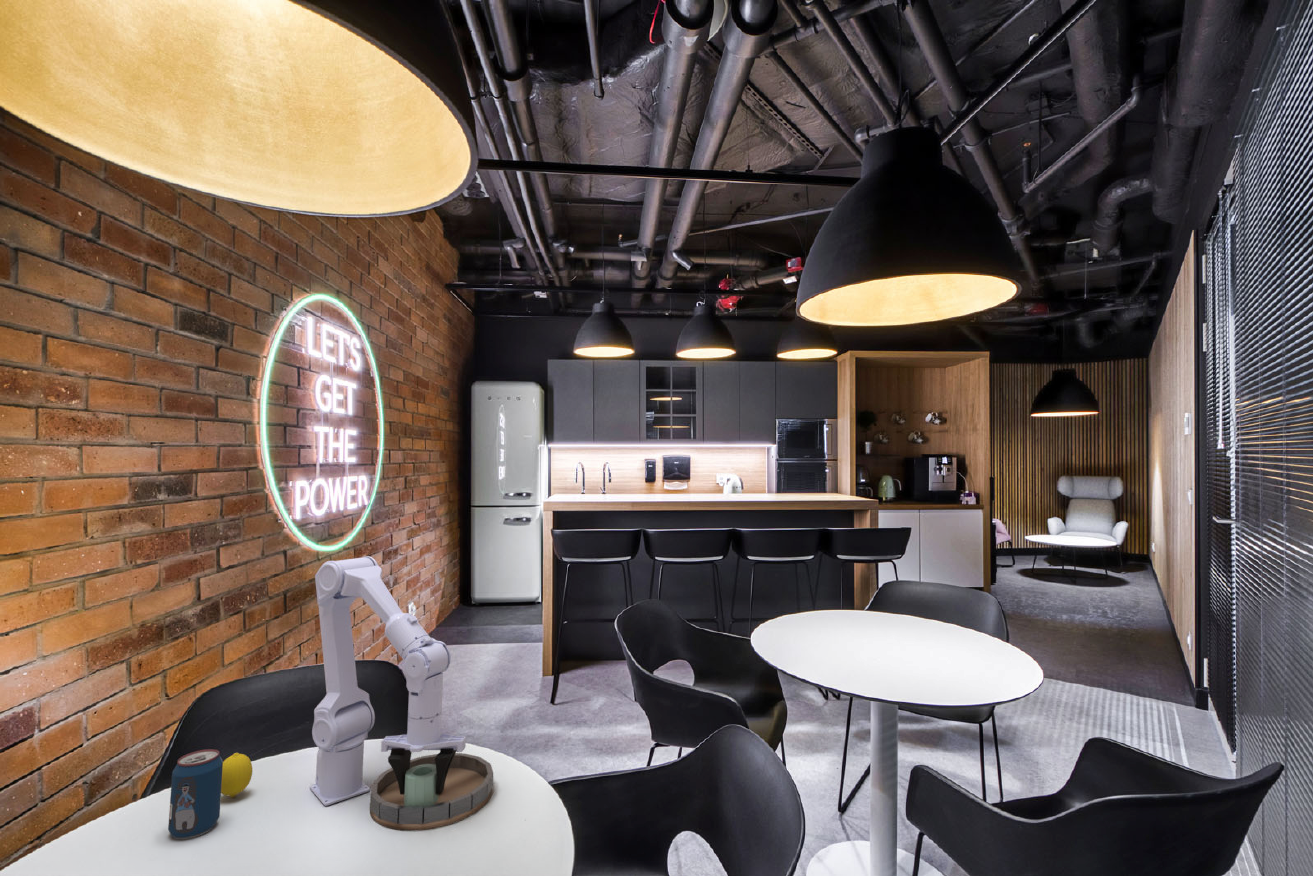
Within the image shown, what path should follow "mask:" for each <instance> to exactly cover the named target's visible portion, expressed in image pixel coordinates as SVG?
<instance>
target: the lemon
mask: <svg viewBox="0 0 1313 876" xmlns="http://www.w3.org/2000/svg"><path fill="white" fill-rule="evenodd" d="M252 775H253V765H252V761H251V759H250V758H249V756H247V755H246V754H243V753H239V752H235V753H233V754H232V755H230V756H229V757H227V758H225V759H224V761H223V768H222V785H221V795H223V796H228V797H230V798H232V799H233V798H235V797H237V796H238V794H240V793H242V792H243V791H244V790H245V789H246V788H247V787H248V785H249V784H250V782H251V779H252Z"/></svg>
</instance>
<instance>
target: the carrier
mask: <svg viewBox="0 0 1313 876" xmlns="http://www.w3.org/2000/svg"><path fill="white" fill-rule="evenodd" d="M437 755H438V753H434V754H430V755H429V754H428V755H423V756H418V757H415V758H412V759H410V768H412V767H415V766H418V765H422V764H433V765H436V763H435V757H436V756H437ZM410 768H409V769H410ZM493 788H494V770H493V766H492V763H490V762H488V761H487V760H485V759H484V758H482V757H480V756H477V755H473V754H469V753H462V752H456V753H455V755H454V758H453V760H452V762H451V765H450V767H449V770H448V773H447V776H446V780H445V785H444V790H443V791H442V793H441V794H440V795H439V797H438V801H437V802H435V803H434V804H431V805H426V806H405V805H404V795H400V790H399V785H398V781H397V778H396V775H395V773H394V770H393V769H392V767H390V768H388V769H386V770H385V771H383V772H381V773H380V775H378V777H377V778H376V779H375V780H374V781H373V782H372V783H371V787H370V799H369V801H370V802H369V814H370V817H371V819H372V820H373V821H374V822H375V823H376V824H378V825H379V826H382V827H384V828H388V829H392V830H397V831H407V832H408V831H409V832H413V831H414V832H415V831H425V830H432V829H438V828H442V827H446V826H449V825H452V824H454V823H457V822H460V821H463V820H465V819H467V818H469V817H471V816H472V815H474V814H476V813H477V812H479V811H480V810H482V809H483V808H484V807H485V806H486V805H487V804H488V802H489V801H490V799H491V798H492V795H493V791H492V790H493ZM483 806H484V807H483ZM470 815H471V816H470Z"/></svg>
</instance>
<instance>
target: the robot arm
mask: <svg viewBox="0 0 1313 876" xmlns="http://www.w3.org/2000/svg"><path fill="white" fill-rule="evenodd" d="M382 574H383V569H382V568H381V567H380V565H378V562H377V560H375V559H374V557H372V556H369V555H367V556H362V557H357V558H349V559H340V560H328V561H325V562H324V563H323V564H322V565H321V566H320V567H319V569H318V571H317V572H316V573H315V575H314V578H315V579H314V580H315V588H316V591H315V592H316V599H317V605H318V606H317V607H318V616H319V626H320V627H319V628H320V635H321V636H320V637H321V646H322V648H321V649H322V657H323V658H322V659H323V669H324V677H325V678H324V679H325V689H326V694H325V696H324V697H323V699H322V700H321V701H320V702H319V703H318V704H317V706H316V707H315V708H314V710H313V714H314V715H313V716H314V717H313V718H314V719H313V724H312V728H311V729H312V730H311V734H312V740H313V742H314V744H315V745H316V746H317V748H318V750H317V753H316V764H315V765H316V770H315V783H314V784H311V785H310V786H309V789H310V790H311V792H312V793H313V794H314V795H315V797H316V798H317V799H318V800H319V801H320V802H321V803H322V805H324V806H325V807H326V806H327V807H328V806H330V805H333V804H337V803H338V802H342V801H345V800H347V799H351V798H353V797H355V796H359V795H362V794H365V793H368V792H371V787H369V786H368V785H367V783H365V782H364V781H363V773H364V770H363V769H364V753H365V751H364V749H365V748H364V747H365V740H366V739H368V734H369V732H370V731H371V730H372V729H373V727H374V724H375V722H376V721H375V720H376V716H375V711H374V708H373V706H372V704H371V701H370V700H371V699H370V694H369V693H368V692H366V691H365V690H364V689H362V688H360V687H358V686H359V685H358V677H357V676H358V675H357V668H356V656H355V647H354V638H353V628H352V619H351V618H352V616H351V606H352V605H353V604H354V602H355V600H356V599H357V598H361V599H363V601H364V602H365V603H366V604H367V605H368V606H369V608H370V609H371V610H372V611H373V612H374V613H375V614H376V615H377V616H378V618H379V619H380V620H381V621H382V622H383V624H385V628H384V636H385V637H386V638H387V640H388V641H389V642H390V644H391V645H392V646H393V648H394V649H395V650H396V652H397V653H398V655H399V656H400V658H401V659H402V660H403V662H404V663H401V669H402V673H403V676H404V678H405V680H406V688H407V691H408V708H407V709H408V710H407V732H406V734H400V735H399V734H398V735H386V736H385V737H384V738H382V740H381V743H380V744H381V746H380V752H381V753H382V752H384V753H386V752H388V751H390V753H389V754H390V755H388V757H387V761H388V763H389V766H390V768H392V769H393V770H394V773H395V775H396V778H397V781H398V785H399V790H400V795H404V794H405V774H406V771H407V770H409V768H410V760H411V758H412V753H421V752H422V751H439V752H438V753H437V754H438V755H437V756H436V757H435V763H436V773H437V780H436V795H440V794H441V793H442V791H443V790H444V785H445V780H446V776H447V773H448V770H449V767H450V765H451V762H452V760H453V758H454V755H455V753H462V752H463V751H464V750H465V749H466V746H467V744H466V742H467V741H466V740H467V739H466V738H467V737H466V736H463V735H462V736H461V735H460V736H459V735H453V734H448V733H443V732H442V712H443V687H444V686H443V684H444V672H446V671H447V670H448V668H450V664H451V659H452V658H451V652H450V650H449V648H448V646H447V644H446V643H445V642H443V641H441V640H436V639H435V638H433V637H430V636H431V635H429V634H428V633H427V631H426V630H425V629H424V627H423V626H422V625H421V624H420V623H419V619H418V618H417V616H416V615H413V614H412V613H410V612H403V611H402V609H401V608H400V606H399V604H398V603H397V601H396V600H395V599H394V597H393V596H392V594H391V592H390V591H389V589H388V587H387V586H386V584H385V583H384V581H383V579H382V577H383V576H382Z"/></svg>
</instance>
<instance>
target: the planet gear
mask: <svg viewBox="0 0 1313 876" xmlns="http://www.w3.org/2000/svg"><path fill="white" fill-rule="evenodd" d="M436 780H437V773H436V765H433V764H422V765H418V766H415V767H412V768H410V769H409V770H407V771H406V774H405V794H404V805H405V806H426V805H431V804H434V803H435V802H437V801H438V797H439V795H436Z"/></svg>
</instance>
